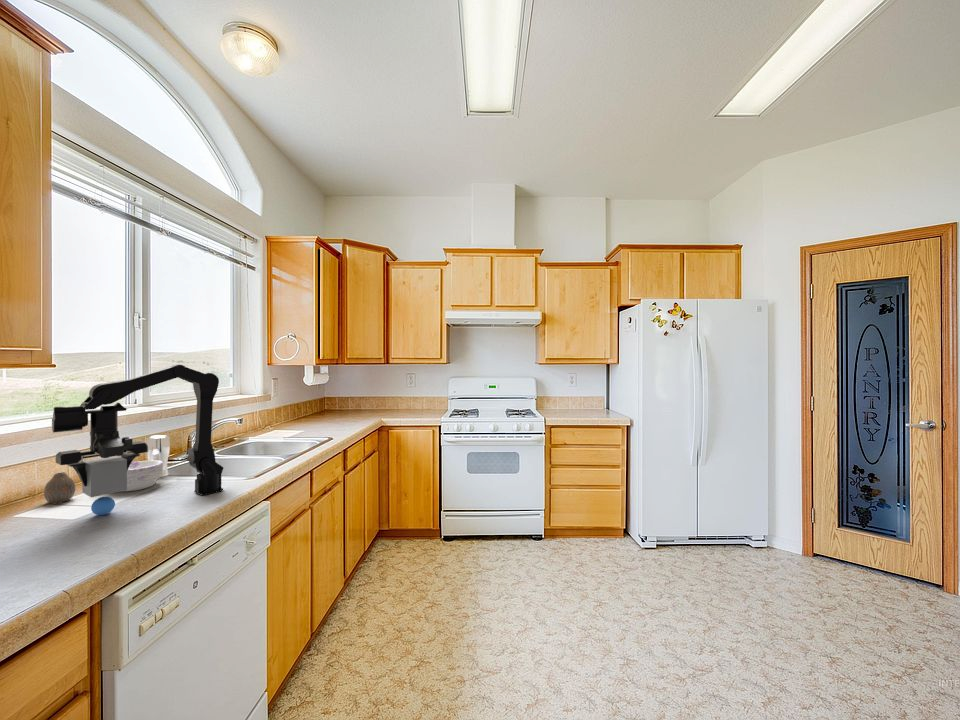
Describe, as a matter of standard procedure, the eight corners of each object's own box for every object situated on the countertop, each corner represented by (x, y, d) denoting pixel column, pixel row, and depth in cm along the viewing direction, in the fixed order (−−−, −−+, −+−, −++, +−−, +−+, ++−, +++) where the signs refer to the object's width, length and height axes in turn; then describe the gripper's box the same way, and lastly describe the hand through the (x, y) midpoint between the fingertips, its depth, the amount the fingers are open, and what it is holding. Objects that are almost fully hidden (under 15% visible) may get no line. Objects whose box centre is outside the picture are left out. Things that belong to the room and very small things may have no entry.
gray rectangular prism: (117, 485, 122) (117, 455, 122) (126, 489, 118) (126, 459, 118) (82, 492, 115) (82, 461, 115) (90, 497, 111) (90, 465, 111)
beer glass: (150, 479, 150) (151, 438, 150) (143, 476, 154) (143, 437, 154) (173, 475, 156) (173, 435, 156) (165, 472, 160) (165, 434, 160)
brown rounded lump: (80, 499, 129) (80, 471, 129) (52, 506, 123) (52, 477, 123) (67, 496, 131) (67, 469, 131) (38, 503, 125) (38, 475, 125)
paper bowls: (133, 480, 149) (133, 459, 149) (173, 481, 148) (173, 459, 148) (92, 494, 134) (92, 470, 134) (136, 495, 133) (136, 471, 133)
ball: (116, 493, 118) (118, 511, 117) (110, 495, 120) (112, 512, 119) (94, 498, 113) (95, 516, 113) (87, 500, 116) (89, 518, 115)
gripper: (66, 435, 105) (66, 497, 105) (155, 425, 120) (155, 479, 120) (55, 431, 111) (55, 489, 111) (140, 422, 126) (140, 473, 126)
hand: (104, 482), depth 117 cm, fingers closed on gray rectangular prism, 8 cm apart
